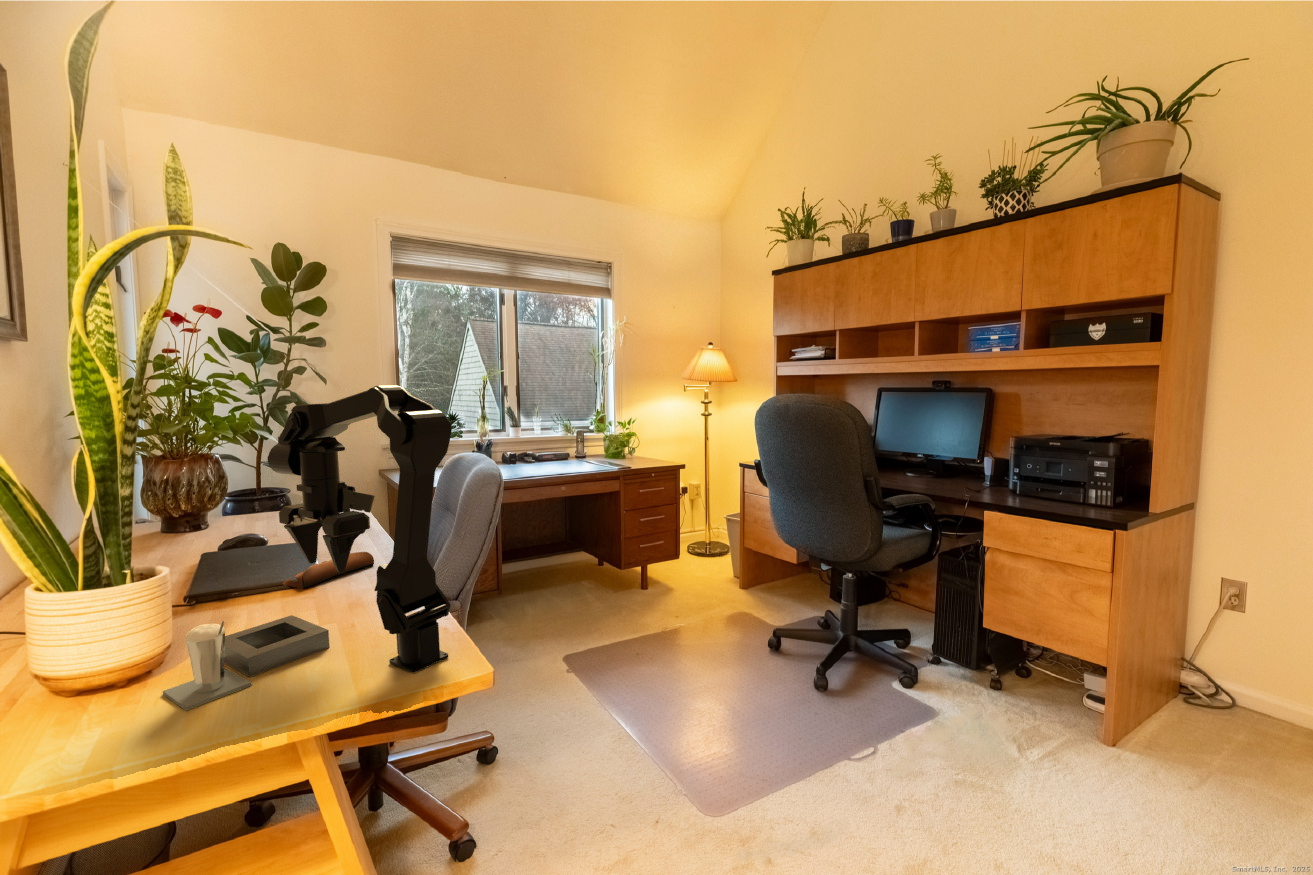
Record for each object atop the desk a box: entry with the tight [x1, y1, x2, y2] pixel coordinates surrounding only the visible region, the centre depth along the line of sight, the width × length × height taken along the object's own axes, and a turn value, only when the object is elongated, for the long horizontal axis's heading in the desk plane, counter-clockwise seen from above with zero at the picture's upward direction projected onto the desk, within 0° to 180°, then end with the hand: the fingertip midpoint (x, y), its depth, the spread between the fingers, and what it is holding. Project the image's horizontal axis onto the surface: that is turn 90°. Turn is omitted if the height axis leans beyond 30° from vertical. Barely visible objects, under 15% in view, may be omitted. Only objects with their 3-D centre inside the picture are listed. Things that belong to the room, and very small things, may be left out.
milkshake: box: [184, 620, 226, 693], centre depth 87 cm, size 4×5×10 cm
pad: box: [162, 668, 252, 711], centre depth 88 cm, size 8×8×1 cm
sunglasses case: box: [282, 551, 375, 590], centre depth 139 cm, size 18×7×7 cm
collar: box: [224, 614, 330, 678], centre depth 99 cm, size 12×12×3 cm
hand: (326, 567), depth 105 cm, fingers open, 9 cm apart
